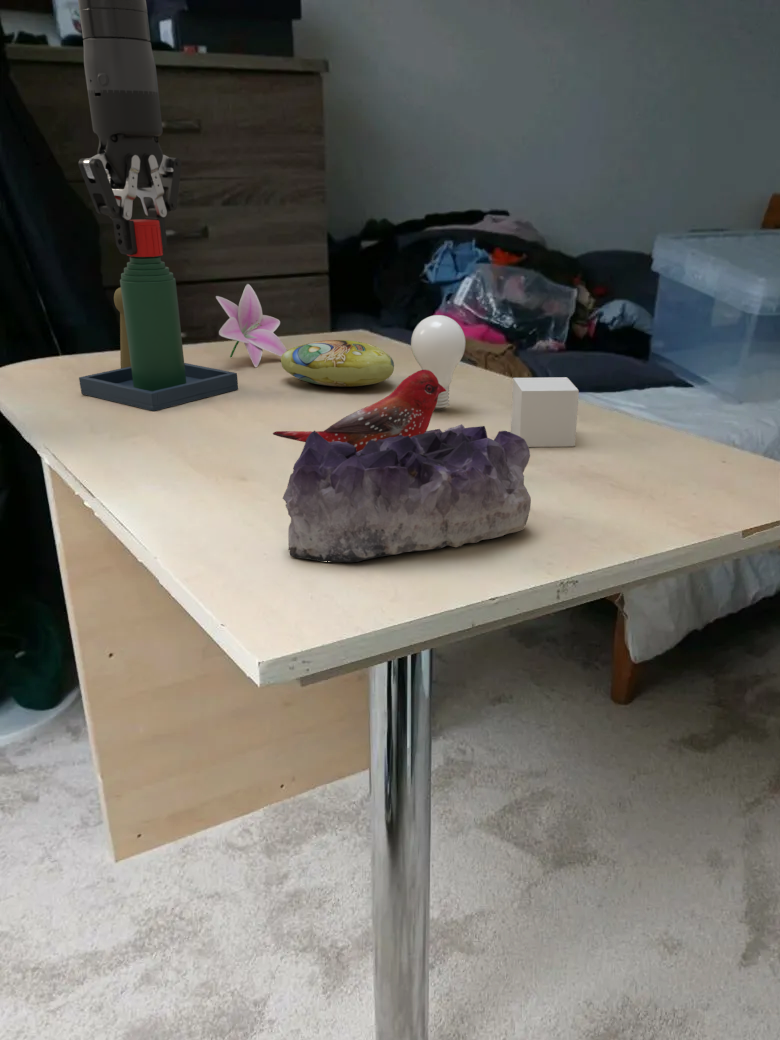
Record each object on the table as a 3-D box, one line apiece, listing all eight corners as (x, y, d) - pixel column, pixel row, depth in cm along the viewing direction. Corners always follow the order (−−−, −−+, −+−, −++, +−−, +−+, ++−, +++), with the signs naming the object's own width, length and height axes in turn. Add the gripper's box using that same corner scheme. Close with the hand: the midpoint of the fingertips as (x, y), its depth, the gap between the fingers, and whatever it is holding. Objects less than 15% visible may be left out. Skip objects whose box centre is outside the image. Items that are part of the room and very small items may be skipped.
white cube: (563, 430, 105) (567, 377, 103) (574, 446, 100) (579, 390, 97) (510, 431, 105) (512, 377, 102) (519, 447, 100) (522, 390, 97)
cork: (161, 363, 134) (151, 282, 129) (169, 371, 129) (159, 288, 124) (117, 366, 131) (105, 284, 127) (124, 375, 127) (112, 290, 122)
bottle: (156, 395, 114) (136, 228, 106) (123, 388, 118) (101, 225, 110) (197, 386, 119) (181, 225, 111) (163, 379, 122) (145, 222, 114)
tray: (153, 411, 111) (151, 393, 110) (81, 394, 117) (78, 377, 116) (238, 389, 121) (237, 372, 120) (167, 374, 127) (165, 359, 127)
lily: (208, 378, 130) (232, 318, 125) (186, 331, 137) (208, 272, 132) (285, 394, 138) (311, 338, 133) (260, 348, 144) (284, 294, 139)
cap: (144, 257, 109) (140, 222, 108) (119, 255, 111) (114, 220, 109) (170, 254, 112) (166, 220, 111) (145, 252, 114) (141, 218, 113)
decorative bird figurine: (453, 473, 92) (454, 369, 87) (283, 505, 83) (276, 392, 79) (437, 465, 94) (438, 364, 89) (271, 495, 85) (262, 385, 81)
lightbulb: (472, 406, 114) (474, 313, 109) (450, 419, 109) (452, 321, 104) (425, 400, 117) (425, 309, 112) (402, 412, 111) (401, 317, 106)
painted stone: (376, 379, 116) (271, 325, 117) (362, 429, 121) (263, 377, 123) (413, 345, 123) (315, 295, 125) (399, 393, 129) (305, 345, 130)
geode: (322, 591, 67) (303, 453, 64) (271, 554, 77) (252, 433, 74) (557, 532, 76) (551, 408, 73) (484, 505, 86) (476, 395, 82)
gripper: (145, 91, 111) (162, 246, 119) (46, 85, 100) (73, 256, 108) (193, 91, 108) (208, 249, 116) (97, 84, 97) (120, 260, 104)
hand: (143, 251), depth 112 cm, fingers closed on cap, 4 cm apart
